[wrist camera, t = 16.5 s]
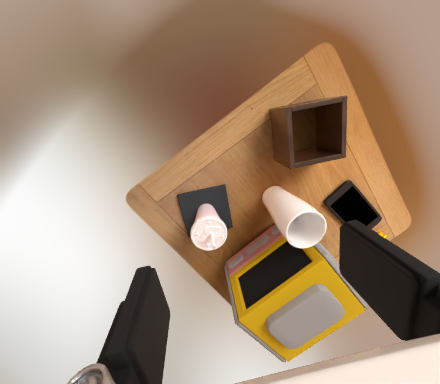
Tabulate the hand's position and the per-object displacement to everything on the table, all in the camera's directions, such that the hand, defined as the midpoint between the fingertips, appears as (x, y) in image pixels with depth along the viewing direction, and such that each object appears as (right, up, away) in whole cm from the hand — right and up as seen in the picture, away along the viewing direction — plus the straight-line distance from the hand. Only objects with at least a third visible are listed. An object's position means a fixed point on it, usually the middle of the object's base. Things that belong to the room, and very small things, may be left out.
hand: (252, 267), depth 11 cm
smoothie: (-5, 0, +36) cm, 36 cm away
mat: (-5, 0, +36) cm, 36 cm away
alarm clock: (+11, -11, +42) cm, 45 cm away
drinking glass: (+10, +3, +37) cm, 38 cm away
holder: (+14, +16, +33) cm, 39 cm away
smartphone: (+29, 0, +40) cm, 50 cm away
